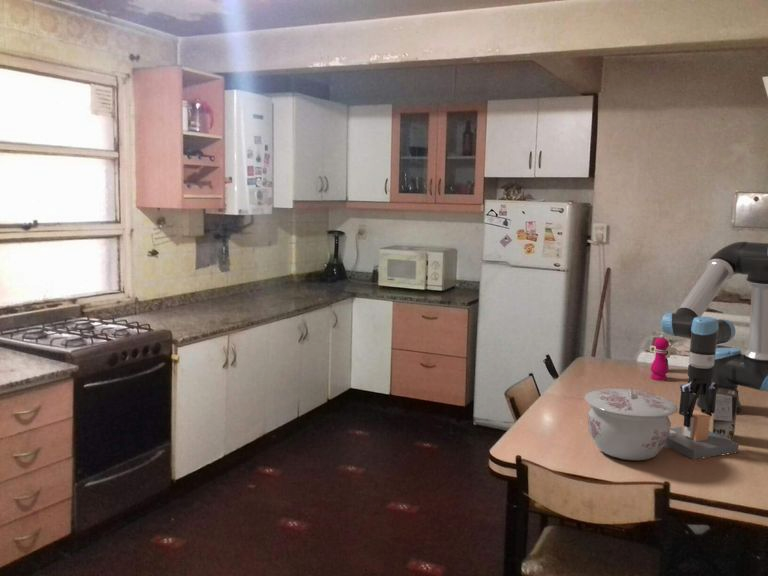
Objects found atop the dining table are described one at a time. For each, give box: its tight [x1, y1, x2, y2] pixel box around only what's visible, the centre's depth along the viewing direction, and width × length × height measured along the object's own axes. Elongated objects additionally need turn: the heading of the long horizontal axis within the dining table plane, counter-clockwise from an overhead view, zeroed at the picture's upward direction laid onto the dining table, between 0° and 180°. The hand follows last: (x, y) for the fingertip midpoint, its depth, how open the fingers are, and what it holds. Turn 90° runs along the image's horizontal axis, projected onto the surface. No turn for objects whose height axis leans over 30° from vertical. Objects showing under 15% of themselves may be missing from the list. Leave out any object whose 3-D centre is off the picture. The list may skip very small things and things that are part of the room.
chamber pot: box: [584, 388, 679, 462], centre depth 213 cm, size 28×28×21 cm
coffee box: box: [711, 388, 739, 442], centre depth 228 cm, size 9×6×16 cm
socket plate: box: [664, 426, 740, 460], centre depth 221 cm, size 18×18×4 cm
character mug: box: [649, 342, 676, 366], centre depth 313 cm, size 11×7×13 cm, turn 63°
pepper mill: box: [650, 334, 670, 382], centre depth 299 cm, size 7×7×20 cm
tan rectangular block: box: [681, 409, 711, 441], centre depth 220 cm, size 5×6×10 cm
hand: (694, 435), depth 221 cm, fingers closed on tan rectangular block, 5 cm apart
